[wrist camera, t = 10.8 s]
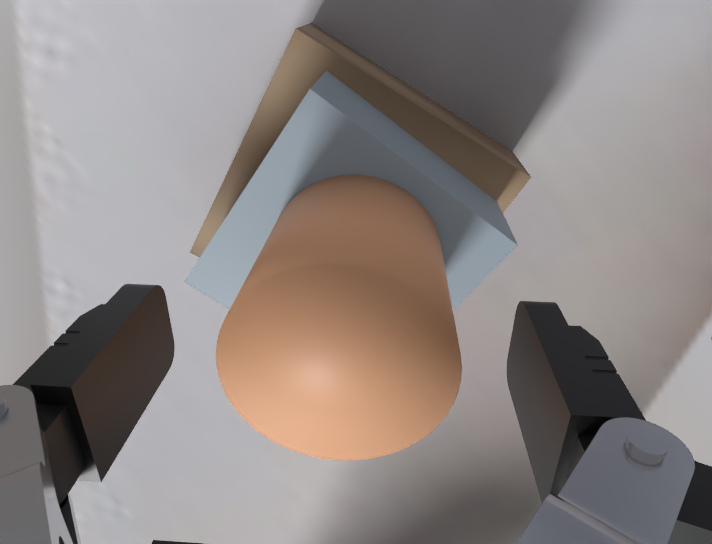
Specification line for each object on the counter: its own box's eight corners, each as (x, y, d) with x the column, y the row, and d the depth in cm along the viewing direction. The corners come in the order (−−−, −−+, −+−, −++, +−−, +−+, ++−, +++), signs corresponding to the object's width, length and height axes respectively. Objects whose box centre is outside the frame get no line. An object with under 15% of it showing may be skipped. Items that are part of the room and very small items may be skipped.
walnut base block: (390, 310, 28) (389, 356, 24) (218, 216, 26) (189, 252, 22) (510, 149, 23) (531, 177, 20) (312, 22, 21) (296, 28, 18)
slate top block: (372, 334, 23) (368, 394, 20) (218, 234, 22) (183, 282, 18) (496, 201, 20) (517, 245, 17) (326, 70, 18) (309, 88, 15)
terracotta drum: (381, 352, 19) (375, 491, 14) (243, 278, 18) (179, 396, 13) (476, 233, 17) (514, 345, 11) (323, 139, 15) (285, 213, 10)
